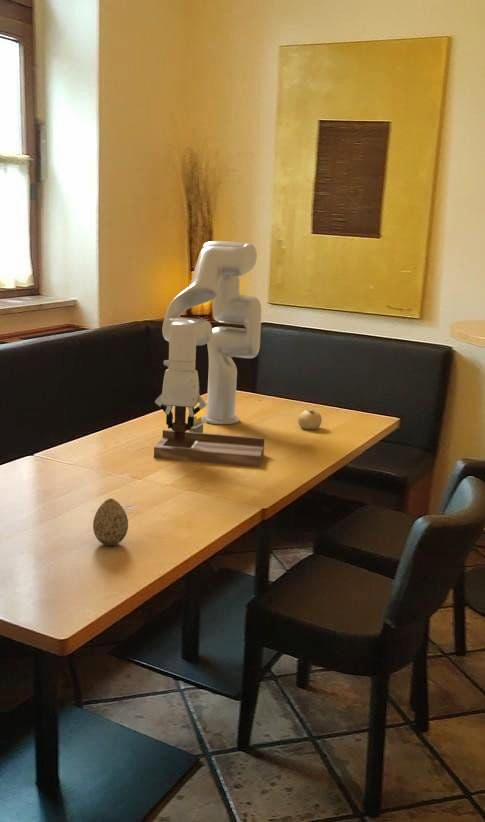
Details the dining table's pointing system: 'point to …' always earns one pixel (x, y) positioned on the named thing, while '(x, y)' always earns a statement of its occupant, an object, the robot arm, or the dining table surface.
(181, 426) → the bolt
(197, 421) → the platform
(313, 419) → the onion
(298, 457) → the dining table surface
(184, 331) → the robot arm
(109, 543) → the decorative egg
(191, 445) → the brown wooden long tray
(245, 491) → the dining table surface
